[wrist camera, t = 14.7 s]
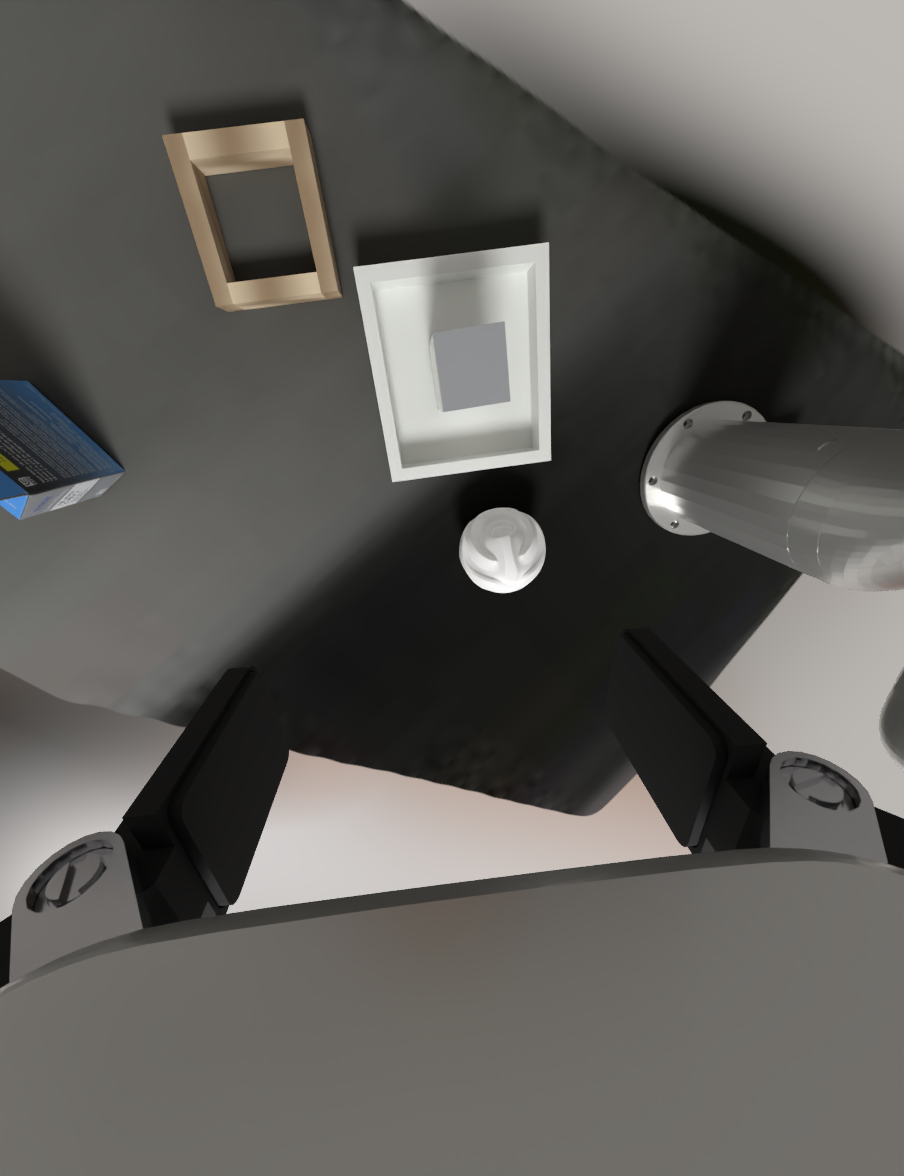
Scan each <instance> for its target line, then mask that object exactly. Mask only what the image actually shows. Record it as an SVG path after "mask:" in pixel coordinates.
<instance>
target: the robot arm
mask: <svg viewBox="0 0 904 1176" xmlns="http://www.w3.org/2000/svg"><path fill="white" fill-rule="evenodd" d="M683 424H684V425H683ZM649 479H650V480H649ZM640 494H641V499H642V503H643V506H644V508H645V510H646V512H647V514H648V515H649V516H650V518H651V519H652V520H653V521H654V522H655V523H656V524H658V525H659V526H661V527H662V528H664V529H666V530H668V531H670V532H673V533H676V534H680V535H699V534H705V533H708V532H712V533H715V534H717V535H719V536H721V537H724V538H726V539H728V540H730V541H733V542H735V543H737V544H739V545H742V546H744V547H746V548H748V549H751V550H753V551H755V552H757V553H760V554H762V555H764V556H766V557H769V558H771V559H773V560H775V561H778V562H780V563H782V564H784V565H787V566H789V567H791V568H794V569H796V570H798V571H800V572H803V573H805V574H807V575H810V576H812V577H814V578H817V579H819V580H821V581H823V582H826V583H829V584H832V585H835V586H838V587H842V588H846V589H851V590H860V591H889V590H900V589H904V430H897V429H880V428H862V427H845V426H828V425H810V424H793V423H775V422H766V420H765V419H764V417H763V416H762V415H761V414H760V413H759V412H758V411H757V410H756V409H754V408H753V407H751V406H749V405H747V404H744V403H740V402H735V401H715V402H707V403H704V404H701V405H698V406H696V407H693V408H691V409H690V410H688V411H686V412H684V413H682V414H681V415H680V416H678V417H677V418H676V419H674V420H673V421H672V422H671V423H670V424H669V425H668V426H667V427H666V428H665V429H664V430H663V431H662V432H661V433H660V434H659V436H658V437H657V439H656V440H655V442H654V443H653V444H652V446H651V448H650V450H649V452H648V454H647V456H646V458H645V462H644V465H643V468H642V472H641V479H640ZM606 719H607V722H608V725H609V727H610V728H611V730H612V732H613V733H614V735H615V737H616V738H617V740H618V742H619V743H620V745H621V747H622V748H623V750H624V752H625V753H626V755H627V757H628V758H629V760H630V762H631V763H632V765H633V767H634V768H635V770H636V772H637V774H638V775H639V777H640V778H641V780H642V782H643V784H644V785H645V787H646V789H647V790H648V792H649V794H650V795H651V797H652V799H653V800H654V802H655V804H656V805H657V807H658V809H659V810H660V812H661V814H662V815H663V817H664V819H665V820H666V822H667V824H668V826H669V827H670V829H671V831H672V832H673V834H674V836H675V837H676V839H677V840H678V842H679V843H680V844H681V845H682V846H684V847H688V848H689V849H690V851H691V853H692V854H688V855H679V856H669V857H659V858H652V859H643V860H635V861H627V862H618V863H610V864H603V865H594V866H586V867H578V868H570V869H561V870H553V871H545V872H538V873H529V874H521V875H514V876H507V877H498V878H490V879H483V880H475V881H467V882H459V883H451V884H443V885H436V886H428V887H420V888H412V889H405V890H397V891H389V892H382V893H375V894H367V895H361V896H353V897H346V898H337V899H330V900H322V901H315V902H308V903H301V904H293V905H286V906H278V907H270V908H263V909H257V910H250V911H244V912H238V913H231V914H226V912H227V910H228V907H229V905H233V904H234V903H235V902H236V901H237V899H238V897H239V895H240V892H241V890H242V887H243V884H244V881H245V878H246V876H247V873H248V870H249V867H250V865H251V862H252V859H253V856H254V853H255V851H256V848H257V845H258V842H259V839H260V836H261V834H262V831H263V828H264V826H265V823H266V820H267V817H268V814H269V811H270V809H271V806H272V803H273V800H274V798H275V795H276V792H277V789H278V786H279V784H280V781H281V778H282V775H283V772H284V770H285V767H286V764H287V761H288V756H289V748H288V744H287V741H286V738H285V735H284V732H283V729H282V726H281V723H280V720H279V717H278V714H277V711H276V708H275V705H274V702H273V699H272V696H271V693H270V690H269V687H268V684H267V681H266V678H265V676H264V673H263V672H261V671H257V670H256V668H255V667H252V666H250V667H240V668H231V669H228V670H227V671H226V672H225V673H224V675H223V676H222V678H221V679H220V680H219V682H218V683H217V685H216V686H215V687H214V689H213V690H212V692H211V693H210V695H209V696H208V697H207V699H206V700H205V702H204V703H203V704H202V706H201V707H200V709H199V710H198V712H197V713H196V714H195V716H194V717H193V719H192V720H191V721H190V723H189V724H188V726H187V727H186V728H185V730H184V732H183V733H182V734H181V736H180V737H179V738H178V740H177V741H176V743H175V744H174V745H173V747H172V748H171V750H170V751H169V753H168V754H167V755H166V757H165V758H164V760H163V761H162V763H161V764H160V765H159V767H158V768H157V769H156V771H155V772H154V774H153V775H152V777H151V778H150V779H149V781H148V782H147V784H146V785H145V786H144V788H143V789H142V791H141V792H140V794H139V795H138V796H137V798H136V799H135V801H134V802H133V803H132V805H131V806H130V808H129V809H128V811H127V812H126V813H125V815H124V816H123V821H122V823H121V824H120V825H119V827H118V828H117V830H116V831H115V832H114V833H113V832H98V833H95V834H91V835H87V836H84V837H82V838H80V839H78V840H76V841H74V842H72V843H70V844H68V845H67V846H65V847H64V848H62V849H61V850H59V851H58V852H56V853H55V854H53V855H52V856H51V857H50V858H48V859H47V860H46V861H45V862H44V863H43V864H41V865H40V866H39V867H38V868H37V869H36V870H35V871H34V872H33V873H32V875H31V876H30V877H29V878H28V879H27V880H26V881H25V883H24V884H23V886H22V887H21V889H20V891H19V892H18V894H17V896H16V898H15V902H14V905H13V910H12V915H10V916H9V917H7V918H6V919H4V920H3V921H1V922H0V1176H904V819H903V818H900V817H898V816H896V815H893V814H891V813H888V812H885V811H883V810H881V809H878V808H876V807H874V805H873V801H872V799H871V797H870V795H869V793H868V791H867V790H866V789H865V788H864V787H863V786H862V784H861V783H860V782H859V781H858V780H857V779H855V778H854V777H853V776H852V775H850V774H849V773H848V772H847V771H845V770H844V769H842V768H840V767H838V766H837V765H835V764H833V763H831V762H829V761H827V760H825V759H822V758H820V757H817V756H815V755H811V754H807V753H803V752H793V751H787V752H782V753H778V754H777V755H774V754H773V753H772V752H771V751H770V750H769V749H768V748H767V747H766V745H767V743H766V742H765V741H764V740H763V739H762V738H761V737H760V736H759V735H758V734H757V733H756V732H755V731H754V730H753V729H752V728H751V727H750V726H749V725H748V724H747V723H746V722H745V721H744V720H742V718H741V717H740V716H739V715H737V714H736V713H735V712H734V711H733V710H732V709H731V708H730V707H729V706H728V705H727V704H726V703H725V702H724V701H723V700H722V699H721V698H720V697H719V696H718V695H717V694H716V693H715V692H714V691H713V690H712V689H711V688H710V687H709V686H708V685H707V684H706V683H705V682H704V681H703V680H702V679H700V678H699V677H698V676H697V675H696V674H695V673H694V672H693V671H692V670H691V669H690V668H689V667H688V666H687V665H686V664H685V663H684V662H683V661H682V660H681V659H680V658H679V657H678V656H677V655H676V654H675V653H674V652H673V651H672V650H671V649H670V648H669V647H668V646H667V645H666V644H665V643H663V642H662V641H661V640H660V639H659V638H658V637H657V636H656V635H655V634H654V633H653V632H652V631H651V630H650V629H649V628H647V627H640V628H630V629H624V630H623V631H622V633H621V635H618V636H617V637H616V640H615V646H614V653H613V661H612V668H611V675H610V682H609V689H608V697H607V704H606ZM879 730H880V736H881V740H882V743H883V745H884V747H885V749H886V751H887V752H888V754H889V755H890V757H891V758H892V759H893V760H894V761H895V763H896V764H897V765H898V766H899V767H900V769H901V770H902V771H903V772H904V667H903V669H902V671H901V672H900V674H899V676H898V678H897V680H896V682H895V684H894V686H893V688H892V689H891V691H890V693H889V695H888V697H887V699H886V702H885V704H884V706H883V708H882V711H881V715H880V720H879Z"/></svg>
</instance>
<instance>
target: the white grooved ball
mask: <svg viewBox="0 0 904 1176" xmlns="http://www.w3.org/2000/svg"><path fill="white" fill-rule="evenodd" d="M545 554H546V546H545V539H544V535H543V533H542V530H541V528H540V526H539V525H538V523H537V522H536V521H535V520H534V519H533V518H532V517H531V516H529V515H528V514H525V513H523V512H519V511H518V510H516V509H513V508H494V509H490V510H487V511H485V512H483V513H481V514H479V515H478V516H477V517H476V518H475V519H473V520H472V521H470V522H469V523H468V525H467V526H466V528H465V529H464V532H463V534H462V536H461V540H460V547H459V556H460V560H461V563H462V566H463V568H464V569H465V571H466V573H467V574H468V576H469V577H470V578H471V580H472V581H473V582H474V583H475V584H477V585H478V586H479V587H481V588H483V589H486V590H489V591H493V592H497V593H509V592H513V591H517V590H519V589H521V588H523V587H524V586H526V585H527V584H529V583H530V582H531V581H532V580H533V579H534V578H535V577H536V576H537V574H538V573H539V571H540V570H541V568H542V566H543V563H544V560H545Z"/></svg>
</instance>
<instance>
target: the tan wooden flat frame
mask: <svg viewBox="0 0 904 1176" xmlns="http://www.w3.org/2000/svg"><path fill="white" fill-rule="evenodd" d="M162 137H163V140H164V143H165V146H166V149H167V153H168V156H169V159H170V162H171V165H172V168H173V172H174V175H175V178H176V181H177V184H178V187H179V191H180V194H181V197H182V200H183V203H184V206H185V210H186V213H187V216H188V219H189V222H190V225H191V229H192V232H193V235H194V238H195V241H196V244H197V248H198V251H199V254H200V257H201V260H202V263H203V267H204V270H205V273H206V276H207V279H208V282H209V286H210V289H211V292H212V295H213V298H214V301H215V305H216V307H219V308H221V309H223V310H225V311H227V312H231V311H239V310H247V309H255V308H263V307H271V306H278V305H286V304H294V303H302V302H310V301H318V300H325V299H333V298H341V297H343V296H342V291H341V286H340V281H339V276H338V270H337V265H336V260H335V255H334V250H333V245H332V240H331V235H330V230H329V225H328V220H327V215H326V210H325V205H324V200H323V194H322V189H321V184H320V179H319V174H318V169H317V164H316V159H315V154H314V149H313V144H312V139H311V136H310V133H309V131H308V128H307V126H306V123H305V121H304V118H303V119H295V120H286V121H278V122H269V123H261V124H253V125H244V126H236V127H227V128H219V129H211V130H202V131H194V132H185V133H177V134H169V135H162ZM291 165H294V169H295V174H296V179H297V183H298V188H299V192H300V197H301V202H302V206H303V211H304V216H305V220H306V225H307V229H308V234H309V239H310V243H311V248H312V253H313V257H314V262H315V266H316V271H317V272H311V273H303V274H296V275H288V276H280V277H272V278H264V279H256V280H248V281H240V282H236V281H235V277H234V274H233V270H232V267H231V264H230V260H229V257H228V253H227V250H226V246H225V243H224V240H223V236H222V233H221V229H220V226H219V222H218V219H217V215H216V212H215V209H214V205H213V202H212V198H211V195H210V191H209V188H208V185H207V181H206V178H205V176H208V175H216V174H225V173H233V172H241V171H249V170H258V169H266V168H274V167H282V166H291Z"/></svg>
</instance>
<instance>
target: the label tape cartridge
mask: <svg viewBox="0 0 904 1176" xmlns="http://www.w3.org/2000/svg"><path fill="white" fill-rule="evenodd" d="M124 472H125V470H124V469H123V468H122V467H120V466H119V465H118V464H117V463H116V462H115V461H114V460H113V459H112V458H111V457H110V456H109V455H108V454H107V453H106V452H104V451H103V450H102V449H101V448H100V447H99V446H98V445H97V444H96V443H95V442H94V441H92V440H91V439H90V438H89V437H88V436H87V435H86V434H85V433H84V432H83V431H82V430H81V429H79V428H78V427H77V426H76V425H75V424H74V423H73V422H72V421H71V420H70V419H69V418H68V417H66V416H65V415H64V414H63V413H62V412H61V411H60V410H59V409H58V408H57V407H56V406H54V405H53V404H52V403H51V402H50V401H49V400H48V399H47V398H46V397H45V396H44V395H42V394H41V393H40V392H39V391H38V390H37V389H36V388H35V387H34V386H33V385H32V384H31V383H29V382H28V381H18V380H0V505H1V506H2V507H3V508H5V509H6V510H7V511H9V512H10V513H11V514H12V515H14V516H15V517H16V518H18V519H25V518H28V517H32V516H35V515H38V514H42V513H45V512H48V511H52V510H55V509H58V508H62V507H65V506H68V505H71V504H75V503H78V502H81V501H85V500H88V499H91V498H95V497H98V496H101V495H102V494H103V493H104V492H105V491H107V489H108V488H109V487H110V486H111V485H112V484H113V483H114V482H115V481H116V480H117V479H118V478H119V477H120V476H121V475H122V474H123V473H124Z"/></svg>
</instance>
